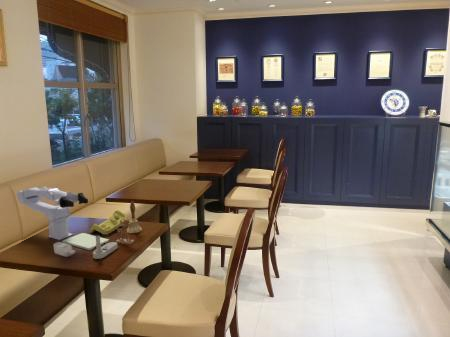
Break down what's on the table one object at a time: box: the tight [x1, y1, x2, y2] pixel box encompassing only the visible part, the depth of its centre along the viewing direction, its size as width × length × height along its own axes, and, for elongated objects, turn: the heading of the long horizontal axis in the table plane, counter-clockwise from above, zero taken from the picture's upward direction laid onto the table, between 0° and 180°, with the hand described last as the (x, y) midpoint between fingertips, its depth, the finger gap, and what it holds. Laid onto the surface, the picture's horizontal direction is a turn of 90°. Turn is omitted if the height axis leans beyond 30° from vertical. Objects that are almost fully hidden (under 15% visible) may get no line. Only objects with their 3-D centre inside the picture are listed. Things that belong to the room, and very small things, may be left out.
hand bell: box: [127, 200, 143, 234], centre depth 198 cm, size 8×8×16 cm
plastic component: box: [89, 209, 127, 236], centre depth 203 cm, size 20×7×10 cm
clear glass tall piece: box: [115, 219, 136, 246], centre depth 182 cm, size 9×4×12 cm, turn 69°
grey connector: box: [53, 241, 76, 258], centre depth 172 cm, size 13×4×4 cm, turn 58°
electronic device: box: [92, 235, 119, 260], centre depth 171 cm, size 5×10×15 cm
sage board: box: [61, 232, 110, 251], centre depth 185 cm, size 20×12×1 cm, turn 58°
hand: (80, 202), depth 178 cm, fingers open, 7 cm apart
